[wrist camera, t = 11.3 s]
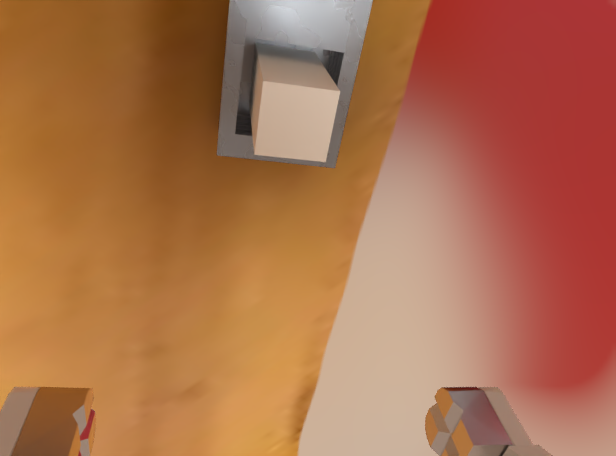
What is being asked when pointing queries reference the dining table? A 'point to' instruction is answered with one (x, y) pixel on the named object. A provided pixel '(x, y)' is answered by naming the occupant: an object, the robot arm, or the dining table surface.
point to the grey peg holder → (297, 35)
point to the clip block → (291, 104)
